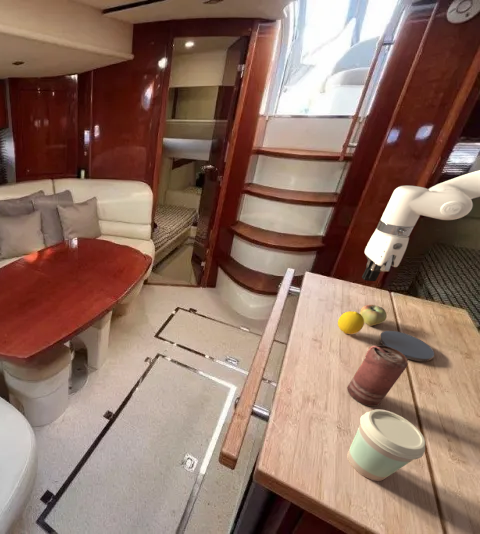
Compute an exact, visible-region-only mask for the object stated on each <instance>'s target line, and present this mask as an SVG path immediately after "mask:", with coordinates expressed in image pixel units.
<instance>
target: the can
mask: <svg viewBox="0 0 480 534" xmlns="http://www.w3.org/2000/svg"><path fill="white" fill-rule="evenodd" d="M408 360H409V359H407V358H406V357H405V355H403V354H402V353H401V352H399V351H397V350H396V349H393V348H391V347H387V346H384V345H383V344H380V345H372V346H370V347H369V349H368V350H367V351H366V353H365V357H364V359H363V361H362V362H361V364H360V366H359V367H358V369H357V371H356V372H355V374H354V375H353V377H352V378H351V380H350V381H349V383H348V385H347V387H346V389H347V393H348V394H349V396H350V397H351V398H352V399H353V400H354V401H356V402H357V403H359V404H361V405H364V406H368V407H375V406H376V407H377V406H379V405H380V404H381V402H382V401H383V400H384V399H385V397H386V396H387V394H389V392H390V391H391V389H392V388H393V386H394V385H395V384H396V382H398V380H399V378H400V377H401V376H402V374H403V373H404V372H405V370H406V369H407V368H408Z"/></svg>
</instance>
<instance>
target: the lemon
mask: <svg viewBox="0 0 480 534" xmlns="http://www.w3.org/2000/svg"><path fill="white" fill-rule="evenodd" d="M364 324H365V323H364V319H363V317H362V316H361V315H360V312H358V311H355V310H354V311H352V310H350V311H345V312H343V313H342V314H341V315H340V316H339V318H338V319H337V327H338V329H339V330H340V331H341V332H343V334H345V335H346V334H348V335H355V334H357V333H359V332H360V331H362V329H363V327H364Z"/></svg>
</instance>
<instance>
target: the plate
mask: <svg viewBox="0 0 480 534" xmlns="http://www.w3.org/2000/svg"><path fill="white" fill-rule="evenodd" d="M378 340H379V342H380V344H381V345H382V346H387V347H391V348H393V349H396V350H397V351H399V352H401V353H402V354H403V355H405V357H406V358H407V360H412V361H415V362H429V361H432V360H433V358H434V357H435V351H434V350H433V348H432V347H431V346H430V345H429V344H427V343H426V342H424V341H423V340H422V339H420V338H418V337H415V336H413V335H410V334H408V333H405V332H402V331H396V330H385V331H382V332H381V333H380V334H379V336H378Z"/></svg>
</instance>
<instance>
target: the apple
mask: <svg viewBox="0 0 480 534" xmlns="http://www.w3.org/2000/svg"><path fill="white" fill-rule="evenodd" d="M359 314H360V315H361V316H362V317H363V319H364V324H365V325H367V326H368V327H369V326H370V327H372V326H373V327H374V326H376V325H380V324H382V323H383V322H385V321H386V319H387V317H388V316H387V312H386V310H385V308H383V307H381V306H379V305H375V304H367V305H363V306H362V307H361V309H360V311H359Z"/></svg>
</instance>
